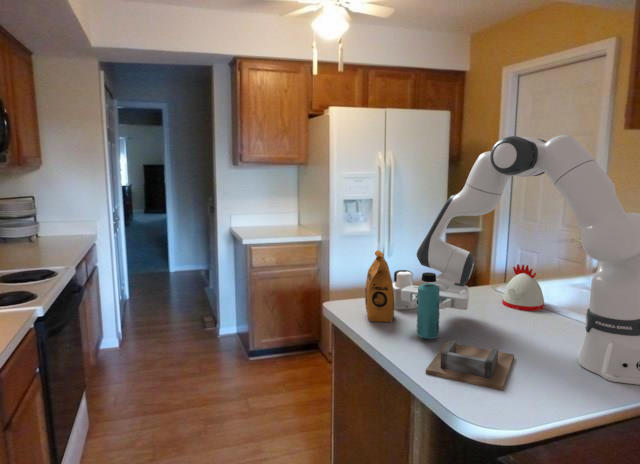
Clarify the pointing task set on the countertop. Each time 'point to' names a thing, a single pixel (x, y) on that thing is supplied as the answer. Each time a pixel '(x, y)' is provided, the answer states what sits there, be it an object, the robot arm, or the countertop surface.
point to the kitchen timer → (523, 291)
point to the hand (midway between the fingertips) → (427, 304)
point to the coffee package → (379, 291)
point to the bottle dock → (472, 365)
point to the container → (401, 281)
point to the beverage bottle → (428, 307)
